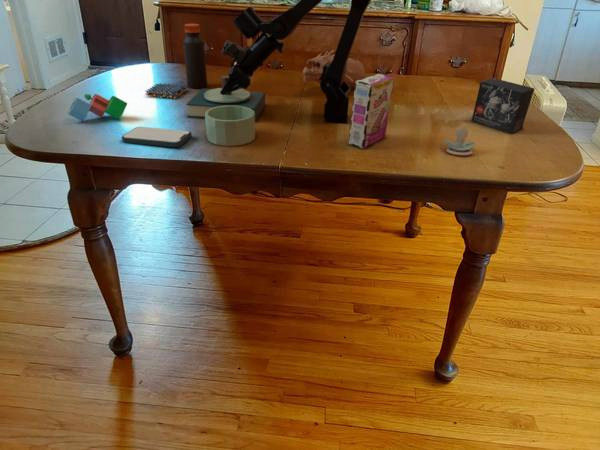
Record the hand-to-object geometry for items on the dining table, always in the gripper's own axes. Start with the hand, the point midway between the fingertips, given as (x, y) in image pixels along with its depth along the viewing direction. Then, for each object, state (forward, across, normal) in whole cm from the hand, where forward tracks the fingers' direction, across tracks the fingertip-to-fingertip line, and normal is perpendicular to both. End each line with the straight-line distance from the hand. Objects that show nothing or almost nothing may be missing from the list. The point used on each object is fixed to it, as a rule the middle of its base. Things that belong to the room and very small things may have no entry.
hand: (222, 90), depth 135 cm
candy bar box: (-24, +24, +33) cm, 47 cm away
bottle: (+12, -27, -3) cm, 30 cm away
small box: (-52, +11, +62) cm, 82 cm away
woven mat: (+19, -17, -10) cm, 27 cm away
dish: (+2, +21, +7) cm, 22 cm away
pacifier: (-39, +31, +48) cm, 70 cm away
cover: (0, 0, +2) cm, 2 cm away
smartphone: (+15, +24, -6) cm, 29 cm away
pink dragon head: (-21, -21, +30) cm, 43 cm away
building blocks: (+28, +9, -19) cm, 35 cm away
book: (+3, 0, +5) cm, 6 cm away
